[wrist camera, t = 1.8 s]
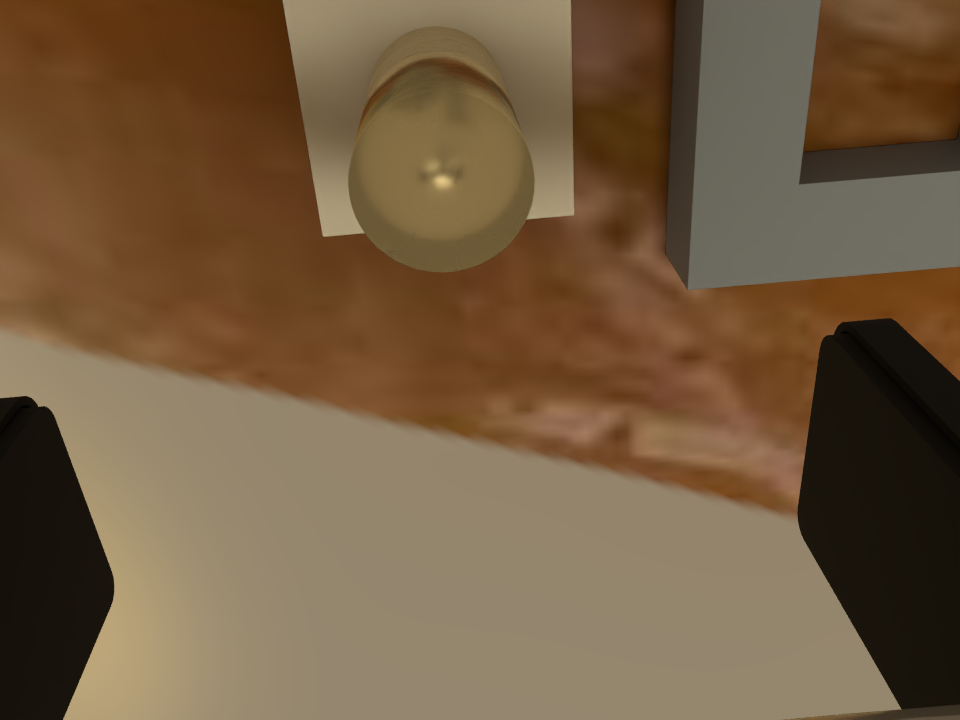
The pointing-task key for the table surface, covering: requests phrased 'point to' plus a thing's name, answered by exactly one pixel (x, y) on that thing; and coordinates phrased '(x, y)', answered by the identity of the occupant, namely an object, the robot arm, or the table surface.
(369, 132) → the brass peg
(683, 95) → the hole plate
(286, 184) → the table surface
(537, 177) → the beige square plate
